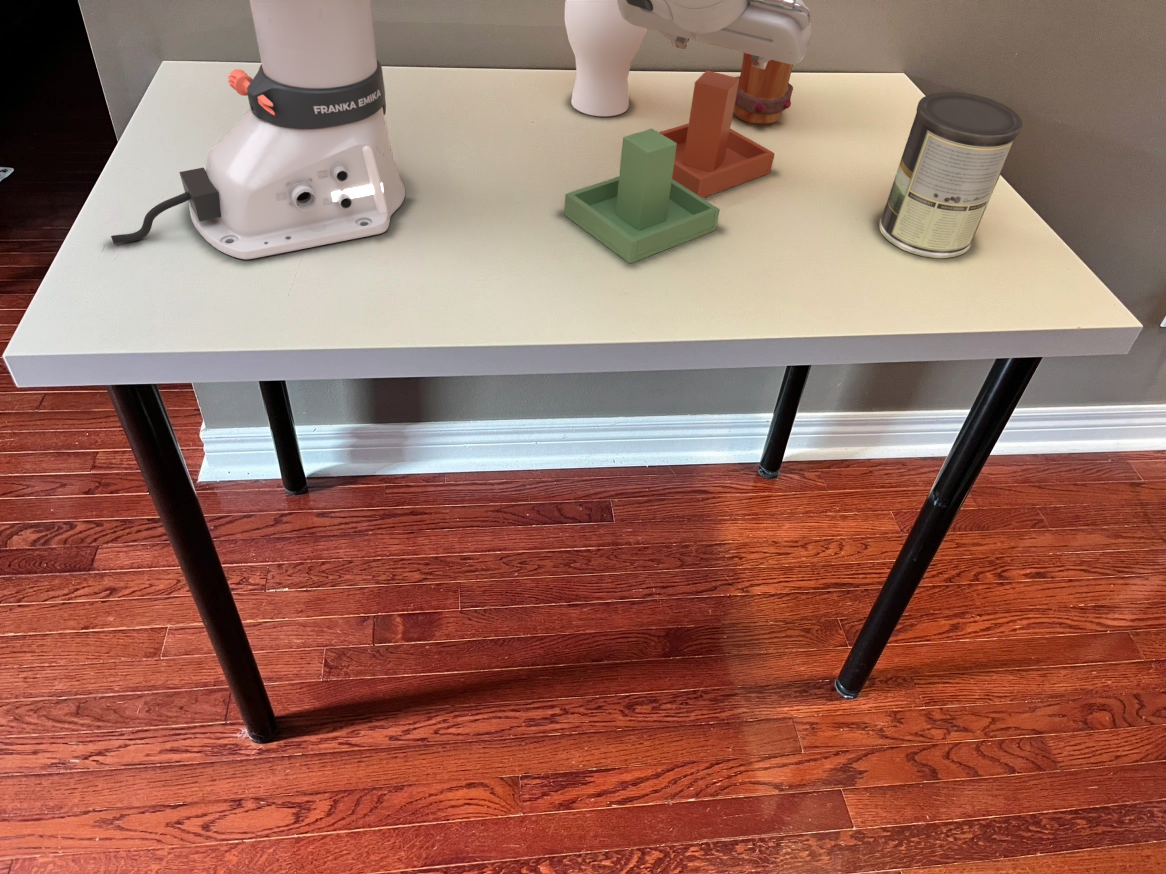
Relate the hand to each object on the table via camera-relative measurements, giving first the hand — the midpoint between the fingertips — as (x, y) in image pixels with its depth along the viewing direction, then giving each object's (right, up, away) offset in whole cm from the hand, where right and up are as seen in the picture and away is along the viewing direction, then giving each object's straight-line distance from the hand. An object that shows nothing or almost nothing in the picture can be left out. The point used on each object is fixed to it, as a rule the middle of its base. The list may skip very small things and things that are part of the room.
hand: (720, 51), depth 98 cm
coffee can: (+23, -20, +1) cm, 31 cm away
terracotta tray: (-1, -10, +9) cm, 14 cm away
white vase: (-13, +1, +20) cm, 24 cm away
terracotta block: (-1, -10, +9) cm, 13 cm away
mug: (+8, +2, +22) cm, 24 cm away
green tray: (-9, -19, -1) cm, 21 cm away
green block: (-9, -19, -2) cm, 21 cm away
